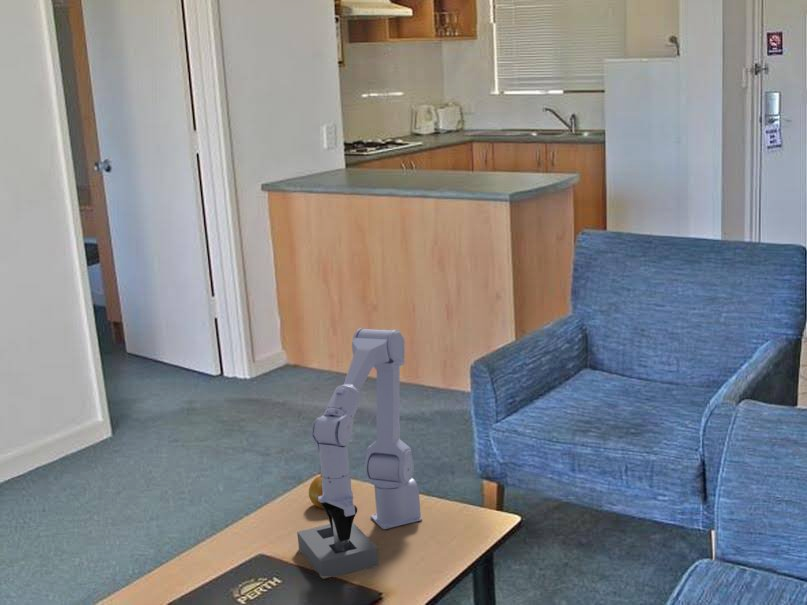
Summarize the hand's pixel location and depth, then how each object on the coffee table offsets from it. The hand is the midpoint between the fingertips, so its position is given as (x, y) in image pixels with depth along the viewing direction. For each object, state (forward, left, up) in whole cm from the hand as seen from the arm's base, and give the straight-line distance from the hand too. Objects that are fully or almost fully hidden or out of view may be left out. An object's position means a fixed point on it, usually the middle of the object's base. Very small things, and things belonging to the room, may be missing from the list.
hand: (341, 536), depth 213 cm
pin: (0, 0, -2) cm, 3 cm away
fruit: (-7, -31, -7) cm, 32 cm away
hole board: (0, -4, -6) cm, 7 cm away
